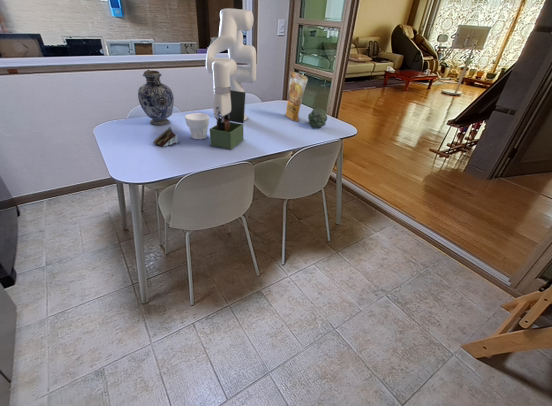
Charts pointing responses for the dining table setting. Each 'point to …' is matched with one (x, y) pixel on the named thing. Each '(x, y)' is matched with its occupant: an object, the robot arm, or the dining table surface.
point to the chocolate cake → (166, 138)
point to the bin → (227, 136)
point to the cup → (197, 124)
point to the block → (225, 125)
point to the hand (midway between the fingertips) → (224, 127)
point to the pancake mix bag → (295, 94)
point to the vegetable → (317, 118)
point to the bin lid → (237, 106)
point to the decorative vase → (156, 98)
